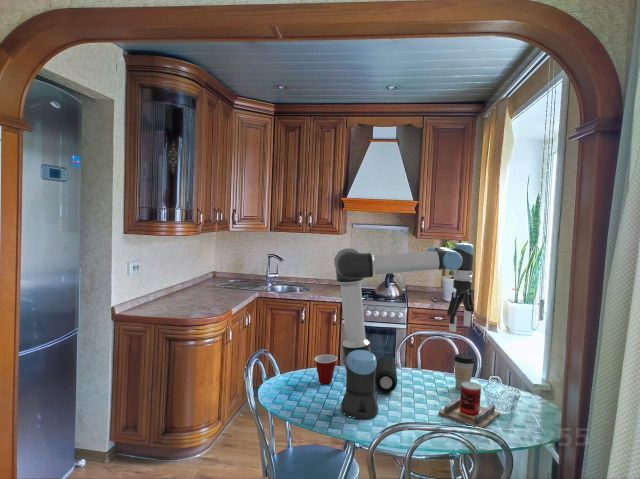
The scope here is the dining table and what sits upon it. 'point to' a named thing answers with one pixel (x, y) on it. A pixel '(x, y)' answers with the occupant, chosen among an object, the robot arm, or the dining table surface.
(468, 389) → the canned food
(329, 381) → the plastic cup
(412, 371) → the dining table surface
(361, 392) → the robot arm
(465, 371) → the coffee cup
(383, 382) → the portable speaker
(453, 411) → the dock board
